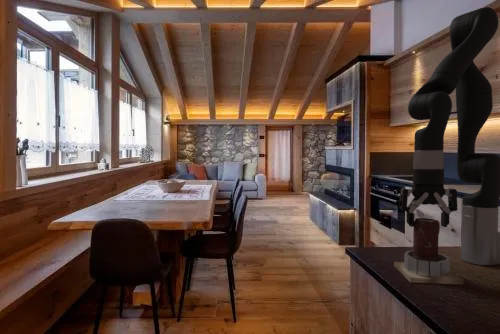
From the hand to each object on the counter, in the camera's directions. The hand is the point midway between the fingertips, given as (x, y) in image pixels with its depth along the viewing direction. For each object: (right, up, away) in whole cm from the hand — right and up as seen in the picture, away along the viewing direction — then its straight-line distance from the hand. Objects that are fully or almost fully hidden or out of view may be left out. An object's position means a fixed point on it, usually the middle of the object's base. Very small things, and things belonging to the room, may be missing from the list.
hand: (427, 226), depth 93 cm
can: (0, -12, 0) cm, 12 cm away
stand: (0, -13, 0) cm, 13 cm away
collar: (0, -12, 0) cm, 12 cm away
